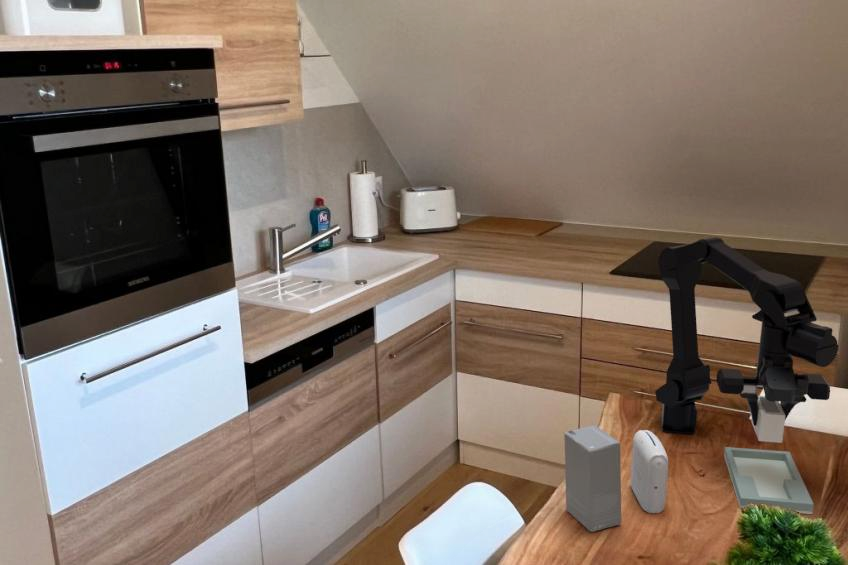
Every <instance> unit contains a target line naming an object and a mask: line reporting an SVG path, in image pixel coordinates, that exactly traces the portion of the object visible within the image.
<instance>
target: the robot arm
mask: <svg viewBox="0 0 848 565" xmlns="http://www.w3.org/2000/svg"><path fill="white" fill-rule="evenodd" d="M657 258H658V259H657V263H658V269H659V273H660V278H661V280H662V281H663V282H664V284H665V286H666V287H667V289H668V292H669V304H670V305H669V308H670V322H671V323H670V324H671V337H672V338H671V339H672V340H671V341H672V355H673V356H672V359H671V361H670V364H669V366H668V367H667V370H666V378H665V380H666V381H665V383H664V384H663V385H661V386H660V387H658V388H657V389H656V390H655V391H654V392H655V398H656V401H657V402H659V403H661V404H662V408H661V409H662V410H661V417H660V418H659V419H660V425H661V426H660V427H661V431H662V432H663V433H671V434H672V433H676V434H686V435H687V434H688V435H694V434H695V428H697V420H698V408H697V405H696V402H697V401H702V400H703V398H704V396H705V395H706V393H707V392H708V391H709V390H710V385H711V384H713V383H712V379H711V367H710V365H709V364H704V362H703V361H702V359H701V358H700V356H699V346H698V345H699V344H698V343H699V342H698V328H697V309H696V308H697V307H696V292H695V290H696V289H695V288H696V286H697V283H698V282H699V280H700V277H701V275H702V270H703V269H702V266H703V264H704V263H708V264H709V265H711V266H712V267H714V268H715V269H716V270H719V272H721V274H723V275H725V276H727V277H728V278H730V279H731V280H732V281H733V282H735V283H737V284H738V285H739V286H741V287H742V288H743V289H745V290H746V291H747V292H748V294H749V296H750V298H751V300H752V302H753V303H754V304H755V305H756V306H757V307H758V308H759V309H760V310H759V311H758V312H756V313H755V314H752V315H751V317H752V319H753V320H755V321H759V322H761V329H760V338H759V345H758V350H757V352H758V354H757V362H756V364H757V365H756V368H755V376H748V375H747V376H744V375H743V374H742V371H741V370H740V369H735V368H734V369H733V368H720V369H719V370H718V371H717V373H716V384H717V386H718V389H719V392H720V393H722V394H725V395H726V394H727V395H729V394H730V395H739V396H740V397H741V398H742V399H746V400H747V404H748V408H749V412H750V417H751V419H752V421H753V424H754V426H756V424H757V401H758V396H759V395H758V393H757V388H758V389H759V388H761V389H763V392H764V396H765V398H766V399H767V400H768V401H771V402H775V401H779V403H780V405H781V407H782V409H783V411H784V414H785V421H786V419H787V418H788V416H789V415H790V413H791V412H792V410H793V409H794V407H795V406H796V405H798V404H800V403H805V402H807V401H808V400H807V397H806V396H805V395H807V396H808V397H809V398H810V400H819V401H828V400H830V397H831V396H830V393H831V386H830V384H829V383H828V381H827V380H826V379H825V377H824V376H823V375H822V374H821V373H820V374H819V373H816V374H815V373H805V372H804V373H803V372H802V373H801V374H798V373H795V370H794V368H793V366H794V359H793V357H795V358H797V359H800V360H803V361H805V362H807V363H810V364H812V365H814V366H818V367H819V368H826V367H828V366H829V365H830V364H832V363H833V361H835V359H836V357H837V355H838V351H839V347H840V346H839V344H838V340H837V338H836V337H835V335H833V328H832V327H829V326H825V325H823V326H822V325H819V324H817V323H814V322H816V321H817V320H818V318H817V316H816V315H815V312H814V309H813V307H812V305H811V304H810V301H809V299H808V296H807V294H806V291H805V289H806V288H805V286H804V285H803V283H801V282H800V281H798V280H797V279H794V278H791V277H790V276H787V275H785V274H780V273H776V272H773V271H772V272H771V271H769V270H766V269H765V268H763V267H761V266H760V265H758V264H757V263H756V262H754V261H753V260H751V259H749V258H748V257H746V256H745V255H743V254H742V253H740V252H739V251H737V250H736V249H734V248H733V247H731V246H729V245H728V244H727V243H725V242H724V240H723V238H720V237H717V236H712V237H706V238H705V237H704V238H700V239H699V240H697V241H694V242H692V243H688V244H683V245H674V246H670V247H665V248H663V249H662V250H661V252H660V253H658V257H657ZM793 312H798V313H795V314H790V315H785V314H787V313H788V314H789V313H793Z"/></svg>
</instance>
